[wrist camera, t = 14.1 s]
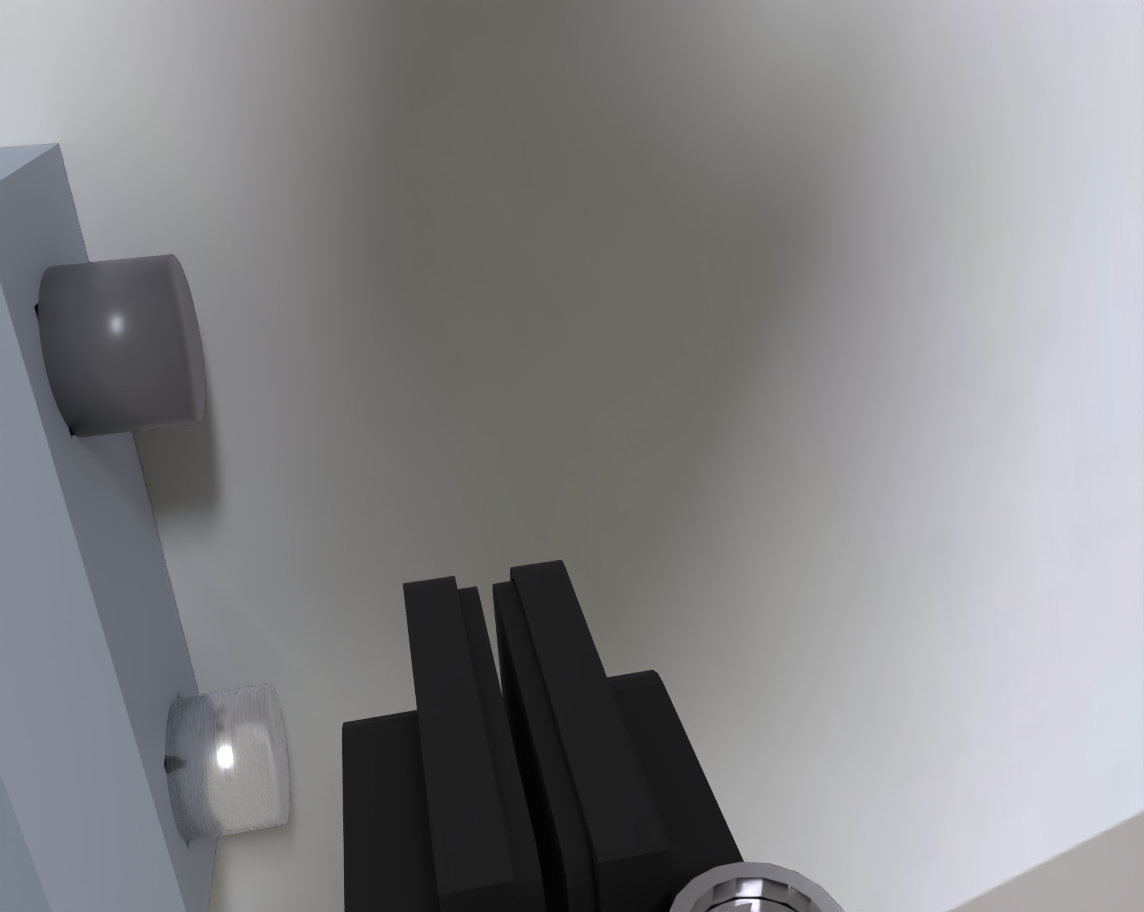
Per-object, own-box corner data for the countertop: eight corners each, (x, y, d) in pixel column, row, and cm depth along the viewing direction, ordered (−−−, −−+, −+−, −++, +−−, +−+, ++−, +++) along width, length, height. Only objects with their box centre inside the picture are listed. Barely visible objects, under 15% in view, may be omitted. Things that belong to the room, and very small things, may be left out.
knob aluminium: (269, 655, 29) (261, 744, 26) (291, 759, 31) (286, 855, 28) (-94, 714, 28) (-152, 816, 24) (-50, 820, 29) (-99, 929, 26)
